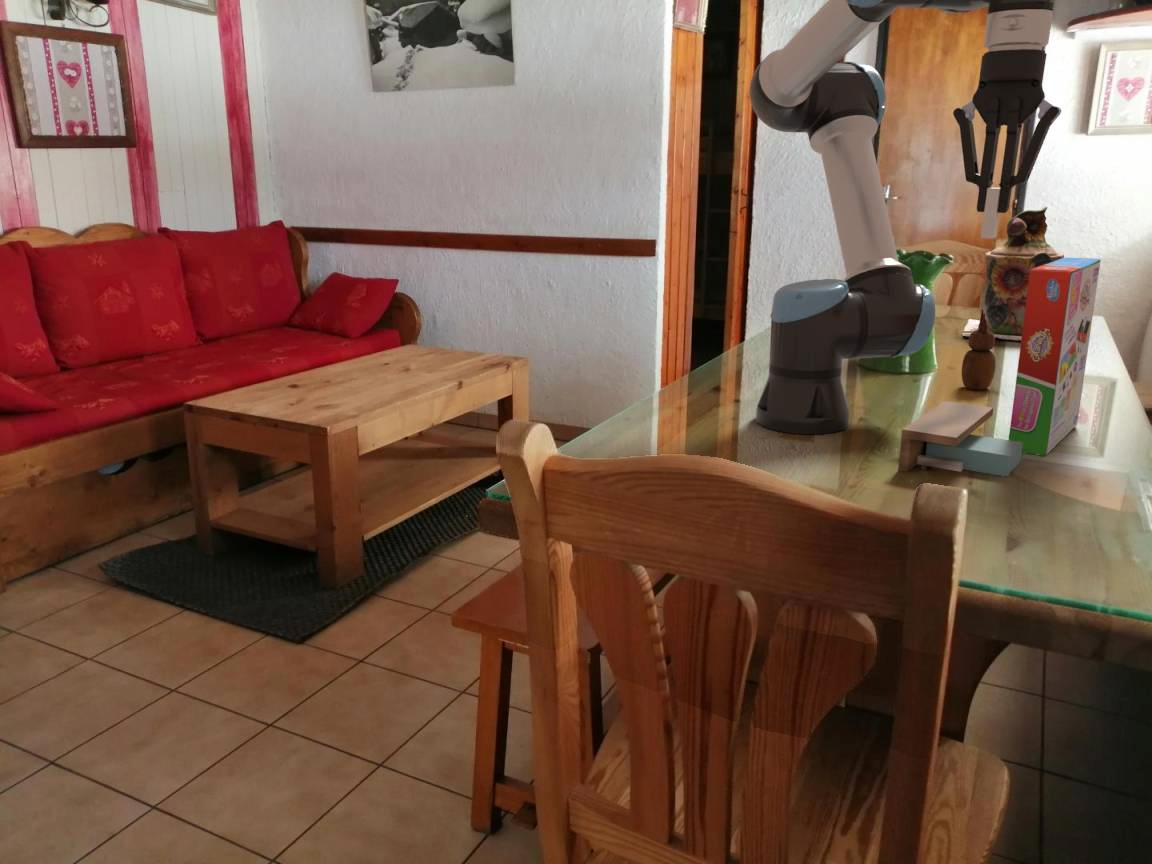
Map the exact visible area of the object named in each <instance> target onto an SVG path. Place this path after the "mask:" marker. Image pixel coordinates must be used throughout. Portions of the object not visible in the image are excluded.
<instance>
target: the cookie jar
mask: <svg viewBox="0 0 1152 864" xmlns="http://www.w3.org/2000/svg"><path fill="white" fill-rule="evenodd" d="M1047 209H1048V206H1044V207H1043V208H1042V209H1039V210H1036V209H1035V210H1024V211H1021V212H1019V213H1018V214H1016V215H1014V216H1013V217H1012V218H1011V219H1010V220H1009V221H1008V223H1007V225H1006V234H1007V238H1008V240H1007V241H1006V242H1005V243H1004V244H1003V245H1002V246H998V247H996V248H994V249H993V250H991V251H987V252H986V253H984V258H985V261H986V263H987V265H986V270H985V278H984V281H983V284H982V285H981V286H982V287H981V291H980V299H979V300H980V301H979V307H978V308H979V309H978V310H979V311H978V312H979V314H980V315H979V316H981V312H982V310H983V314H984V313H985V319H986V324H987V331H991V332H993V334H994V336H995V339H996V338H998V339H1001V340H1010V341H1011V340H1012V341H1021V338H1022V331H1023V323H1024V315H1025V307H1026V299H1027V291H1028V283H1029V275H1030V270H1031V269H1033V268H1036V267H1039V266H1042V265H1045V264H1048V263H1050V262H1054V261H1056V260H1059V259H1062V258H1065V255H1064V253H1063V252H1057V251H1056V250H1055V249H1054V248H1053V247H1052V246H1051V245H1050V244H1048V242H1047V241H1046V237H1045V235H1046V233H1047V229H1048V224H1047V223H1046V220H1047V217H1046V214H1045V213H1046V212H1047ZM979 323H980V319H971V318H969V319H967V323H966V325H965V326H964V327H963V329H964V330H963V332H964V331H971V330H972V331H975V330H978V329H979ZM963 332H962V333H961V335H962V337H963V336H965V337H969V336H970V334H971V333H963Z"/></svg>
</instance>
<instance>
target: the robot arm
mask: <svg viewBox="0 0 1152 864" xmlns="http://www.w3.org/2000/svg"><path fill="white" fill-rule="evenodd" d="M1054 4H1055V0H827V1H826V2H825V3H824V4H823V5H822V6H821V8H819V9H818V10H817V12H816V13H815V14H814V15H813V16H812V17H811V18H810V19H809V20H808V21H807V22H806V23H805V25H803V26H802V27H801V29H800V30H799V31H797V33H796V34H794V35H793V37H792V38H791V39H790V40H789V41H788V42H787V43H786V45H784V47H782V49H781V48H779V49H776V50H773V51H772V52H770V53H769V54H768V55H767V56H766V57H765V58H764V59H762V61H760V63H759V64H758V66H757V67H756V69H755V71H754V72H753V74H752V76H751V78H750V79H751V80H750V84H749V91H748V92H749V99H750V104H751V107H752V110H753V111H754V114H755V115H756V116H757V118H758V119H759V120H760V121H761V122H762V123H763V124H764V125H766V126H767V127H769V128H770V129H772V130H775V131H779V132H783V133H806V134H807V136H808V139H809V140H808V141H809V147H810V148H811V150H813V152H815V153H818V154H820V155H821V159H822V165H823V170H824V173H825V178H826V184H827V189H828V192H829V199H830V202H831V207H832V212H833V217H834V220H835V226H836V231H837V236H838V241H839V244H840V245H839V246H840V250H841V255H842V259H843V264H844V265H843V266H844V269H845V274H846V276H845V277H844V279H843V280H842V279H838V278H825V279H809V280H808V279H807V280H802V281H798V282H793V283H788V284H786V285H784V286H781V287H780V288H779V289H777V290H776V292H775V293H774V296H773V301H772V307H771V313H770V340H769V342H770V345H769V364H768V365H769V367H768V376H767V379H766V383H765V384H764V388H763V390H762V393H761V396H760V398H759V400H758V403H757V405H756V413H755V421H756V423H757V424H759V425H760V426H762V427H763V428H767V429H770V430H773V431H778V432H782V433H791V434H799V435H800V434H802V435H803V434H804V435H819V434H820V435H821V434H830V433H831V434H832V433H836V432H837V433H838V432H840V431H843V430H845V429H847V428H848V427H849V426H850V425H849V424H850V423H849V422H850V409H849V406H848V400H847V398H846V393H845V390H844V386H843V383H842V382H843V381H842V369H843V368H842V367H843V360H852V359H853V360H854V359H870V358H871V359H872V358H873V359H874V358H896V357H899V356H901V357H902V356H908V355H912V354H915V353H917V352H919V351H920V350H922V348H923V347H924V346H925V345H926V343H927V342H928V341H929V339H930V336H931V335H932V331H933V329H934V327H935V326H934V325H935V321H936V302H935V298H934V295H933V294H932V292H931V290H930V289H928V287H927V286H925V285H922V284H918V283H917V284H915V283H914V278H913V274H912V270H911V268H910V267H909V266H907V265H905V264H904V263H902V262H900V261H899V257H898V252H897V248H896V243H895V239H894V234H893V231H892V226H891V221H890V217H889V212H888V208H887V204H886V199H885V194H884V191H883V186H882V181H881V177H880V173H879V172H880V171H879V168H878V163H877V159H876V154H875V149H874V146H873V141H872V139H873V138H874V136H875V135H876V134H877V131H878V129H879V125H881V122H882V121H883V118H884V116H885V113H886V112H885V111H886V106H885V102H886V101H887V93H886V87H885V84H884V81H883V79H882V78H883V77H882V76H881V75H880V73H879V72H878V71H877V70H876V69H875V68H874V67H873V66H871V65H869V64H865V63H856V62H853V61H844V62H843V61H842V62H841V63H839V62H840V61H841V60H842V59H843V58H844V57H845V56H846V55H847V54H848V53H849V52H851V51H852V50H853V49H854V48H855V47H856V46H857V45H859V43H860V42H862V40H864V39H865V38H866V37H867V36H868V35H869V34H870V33H872V32H873V31H874V30H875V29H876V28H877V27H878V26H879V25H880V24H881V23H882V22H884V20H886V19H887V18H888V17H889V16H890V15H892V14H893V13H894V12H895V11H896V10H897V9H901V8H902V9H903V8H907V9H910V8H911V9H916V8H917V9H935V10H939V11H941V12H943V13H947V14H954V13H955V14H956V13H961V14H967V13H970V12H972V11H975V10H979V9H983V8H987V7H988V8H987V18H986V24H985V32H984V33H985V34H984V40H983V47H984V48H985V49H987V51H986V52H984V54H983V55H981V63H980V71H979V79H978V85H977V89H976V91H975V92H974V94H973V95H972V100H971V101H970V102H967V103H966V104H965V105H963V106H962V107H957V108H955V109H954V110H953V112H952V114H953V116H954V119H955V121H956V122H957V124H958V126H959V133H960V141H961V151H962V152H961V153H962V160H963V166H964V167H963V168H964V175H965V180H966V182H967V183H970V184H971V183H972V184H974V185H976V186H977V187H978V195H977V201H976V210H977V211H976V212H979V213H983V218H982V226H981V234H980V239H990V240H991V239H995V238H996V237H997V236H998V229H999V223H1000V215H1001V214H1006V213H1007V212H1008V211H1009V209H1010V204H1011V198H1012V197H1011V196H1012V192H1013V191H1012V190H1013V189H1014V187H1016V186H1017V185H1020V184H1024V183H1027V182H1028V181H1029V179H1030V177H1031V174H1032V172H1033V170H1034V167H1035V164H1036V162H1037V159H1038V157H1039V154H1040V153H1041V149H1042V147H1043V144H1044V142H1045V139H1046V137H1047V134H1048V132H1049V130H1050V127H1051V126H1052V124H1054V122H1055V121H1056V120H1057V118H1058V117H1059V116H1060V115H1061V114H1062V113H1061V112H1062V109H1061V107H1058V106H1055V105H1053V104H1052V103H1051V102H1049V101H1048V100H1046V99H1045V98H1046V94H1045V92H1044V88H1043V82H1044V81H1043V80H1044V74H1045V68H1046V67H1045V66H1046V61H1047V55H1048V54H1047V53H1046V50H1043V48H1044V47H1046V46H1047V45H1049V40H1050V35H1051V30H1052V29H1051V28H1052V27H1051V26H1052V22H1053V21H1052V20H1053V15H1054ZM1037 109H1039V112H1037V118H1038V119H1039V121H1038V122H1037V124H1036V127H1035V128H1034V132H1033V133H1032V136H1031V138H1030V141H1029V144H1028V146H1027V148H1026V151H1025V153H1024V156H1023V158H1022V160H1021V164H1020V166H1019V168H1018V171H1017V173H1016V167H1017V166H1016V165H1017V158H1018V153H1019V144H1020V138H1021V134H1022V128H1023V124H1025V123H1026V122H1027V121H1028V120H1029V119H1030V118H1031V117H1032V116H1033V114H1034V113H1035V112H1036V111H1037ZM976 110H977V112H978V114H979V115H980V117H981V119H982V121H983V123H984V124H985V130H984V131H985V138H984V144H983V152H982V159H981V166H980V173H979V165H978V164H979V163H978V155H977V154H978V153H977V146H976V137H975V128H974V123H973V120H974V119H975V111H976ZM1002 126H1006V137H1005V143H1004V145H1005V146H1004V153H1003V158H1002V159H1003V161H1002V167H1001V173H1000V181H999V183H998V186H999V187H992V185H993V184H994V182H993V180H994V175H995V174H994V173H995V168H996V167H995V166H996V161H997V159H996V158H997V153H998V145H999V139H1000V133H1001V129H1002ZM1015 173H1016V175H1015Z"/></svg>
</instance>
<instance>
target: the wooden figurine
mask: <svg viewBox="0 0 1152 864" xmlns="http://www.w3.org/2000/svg"><path fill="white" fill-rule="evenodd" d="M979 320H980V323H979V329H978V330H976V331H973V332H972V333H971V334H970V336H968V343H967V344H968V346H969V348H970V349H969V350H968V351H966V353H965V354H964V356H963V359H962V365H961V381H962V384H963V386H964V387H965V388H966V389H969V390H973V391H983V390H987V389H988V388H990V386H991V384H992V382H993V379H994V375H995V372H996V364H997V363H996V362H997V361H996V355H995V354H994V352H993V351H991V350H992V349H994V347H995V343H996V338H995V336H994V334H993V332H991V331H987V324H986V319H985V313H984V314H983V310H982V312H981V315H980V317H979Z"/></svg>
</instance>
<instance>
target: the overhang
mask: <svg viewBox="0 0 1152 864" xmlns="http://www.w3.org/2000/svg"><path fill="white" fill-rule="evenodd" d="M993 414H994V407H991V406H986V405H985V406H983V405H976V404H969V403H962V402H961V403H960V402H955V401H954V402H953V401H947V400H943V401H942V402H940V403H939V404H938V405H936V406H935V407H933V408H931V409H930V410H928V411H927V412H926V413H924V414H922V415H921V416H920V417H919V418H917V419H916V420H914V421H913V422H911V423H909V424H908V425H907V426H905V427H904V428H902V430H901V439H900V440H901V441H900V451H899V460H898V471H900V472H904V473H905V472H906V473H907V472H909V471H911V469H913V468H914V467H915V466H916V465H919V466H924V467H925V466H926V467H932V468H937V469H942V470H946V471H947V470H948V471H954V472H959V473H961V472H962V471H963V470H964V469H963V462H961V461H955V460H950V459H944V458H938V457H932V456H926V448H927V442H932V443H938V444H944V445H950V446H956V445H958V444H959V443H960V442H961V441H962V440H964V439H965V438H966V437H967V436H968V435H970V434H972V433H974V432H975V431H976V430H977V429H978V428H980V427H981V426H982V425H983V424H984V423H985V422H987V421H988V420H989V419H990V418H991V417H992V416H993Z"/></svg>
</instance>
